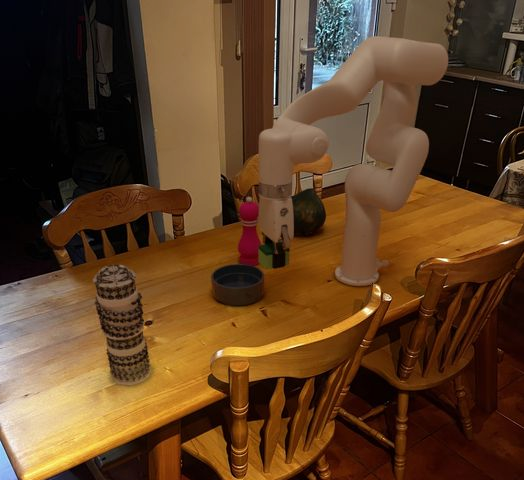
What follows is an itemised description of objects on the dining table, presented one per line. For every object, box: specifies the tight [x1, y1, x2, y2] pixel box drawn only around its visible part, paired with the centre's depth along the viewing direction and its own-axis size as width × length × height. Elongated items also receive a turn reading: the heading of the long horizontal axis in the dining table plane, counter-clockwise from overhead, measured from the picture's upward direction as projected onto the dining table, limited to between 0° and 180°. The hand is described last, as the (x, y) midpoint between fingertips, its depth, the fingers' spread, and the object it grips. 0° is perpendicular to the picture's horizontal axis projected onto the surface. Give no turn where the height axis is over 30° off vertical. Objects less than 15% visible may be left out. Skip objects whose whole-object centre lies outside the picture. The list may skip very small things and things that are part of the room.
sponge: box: [259, 243, 291, 270], centre depth 128 cm, size 6×4×4 cm
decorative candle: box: [92, 264, 152, 386], centre depth 109 cm, size 9×9×25 cm
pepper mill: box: [237, 196, 262, 266], centre depth 156 cm, size 7×7×20 cm
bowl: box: [210, 263, 265, 307], centre depth 144 cm, size 14×14×6 cm
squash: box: [291, 187, 327, 236], centre depth 178 cm, size 14×15×15 cm
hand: (274, 262), depth 129 cm, fingers closed on sponge, 4 cm apart
